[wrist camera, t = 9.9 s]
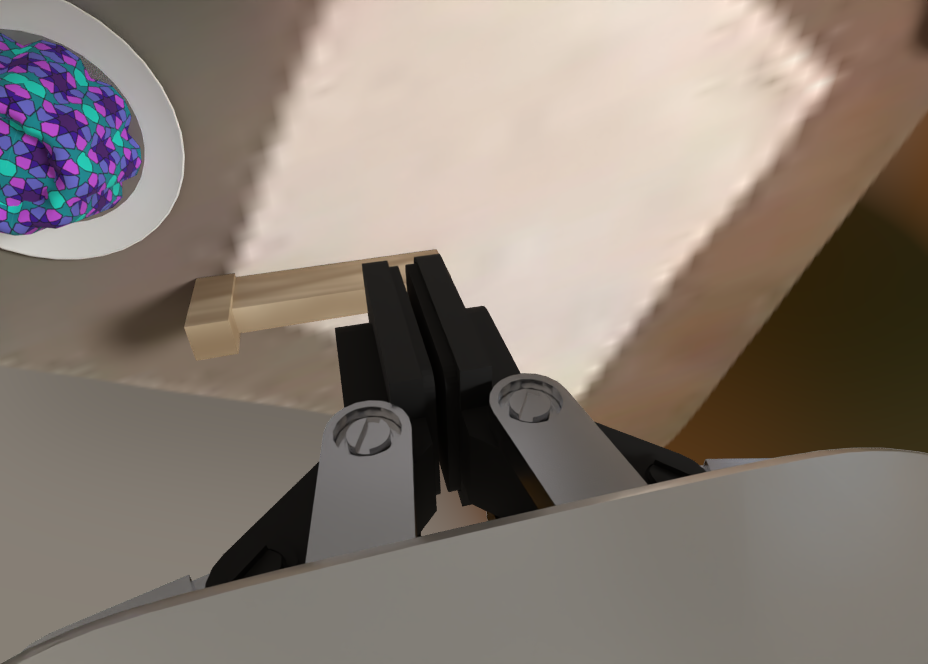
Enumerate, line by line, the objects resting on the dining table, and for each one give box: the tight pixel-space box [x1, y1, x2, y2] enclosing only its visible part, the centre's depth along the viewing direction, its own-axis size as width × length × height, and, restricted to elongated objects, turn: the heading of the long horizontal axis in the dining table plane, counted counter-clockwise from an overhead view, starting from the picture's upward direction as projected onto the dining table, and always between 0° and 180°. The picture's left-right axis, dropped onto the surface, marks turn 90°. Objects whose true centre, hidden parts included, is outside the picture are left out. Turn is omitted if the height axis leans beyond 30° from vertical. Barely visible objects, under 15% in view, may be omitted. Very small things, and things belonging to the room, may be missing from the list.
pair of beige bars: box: [184, 250, 451, 361], centre depth 26 cm, size 18×14×5 cm
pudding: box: [0, 0, 185, 259], centre depth 23 cm, size 12×12×5 cm
